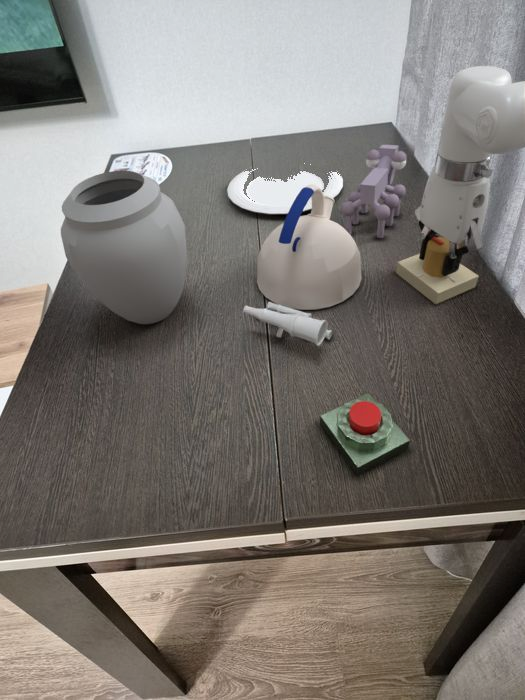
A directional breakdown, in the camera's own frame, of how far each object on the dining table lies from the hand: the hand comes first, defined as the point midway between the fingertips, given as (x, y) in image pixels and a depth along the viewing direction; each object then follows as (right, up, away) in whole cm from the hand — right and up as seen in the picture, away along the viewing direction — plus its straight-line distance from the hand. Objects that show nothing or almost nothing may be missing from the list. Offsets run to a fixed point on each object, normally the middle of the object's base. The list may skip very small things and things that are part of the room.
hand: (438, 264), depth 79 cm
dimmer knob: (0, -1, +1) cm, 1 cm away
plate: (-26, +25, +33) cm, 48 cm away
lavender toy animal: (-6, +14, +20) cm, 25 cm away
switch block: (-18, -27, -19) cm, 38 cm away
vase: (-52, -8, +4) cm, 53 cm away
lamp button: (-18, -25, -22) cm, 38 cm away
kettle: (-23, -1, +7) cm, 24 cm away
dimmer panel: (0, -2, +3) cm, 4 cm away
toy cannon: (-27, -13, -4) cm, 30 cm away
